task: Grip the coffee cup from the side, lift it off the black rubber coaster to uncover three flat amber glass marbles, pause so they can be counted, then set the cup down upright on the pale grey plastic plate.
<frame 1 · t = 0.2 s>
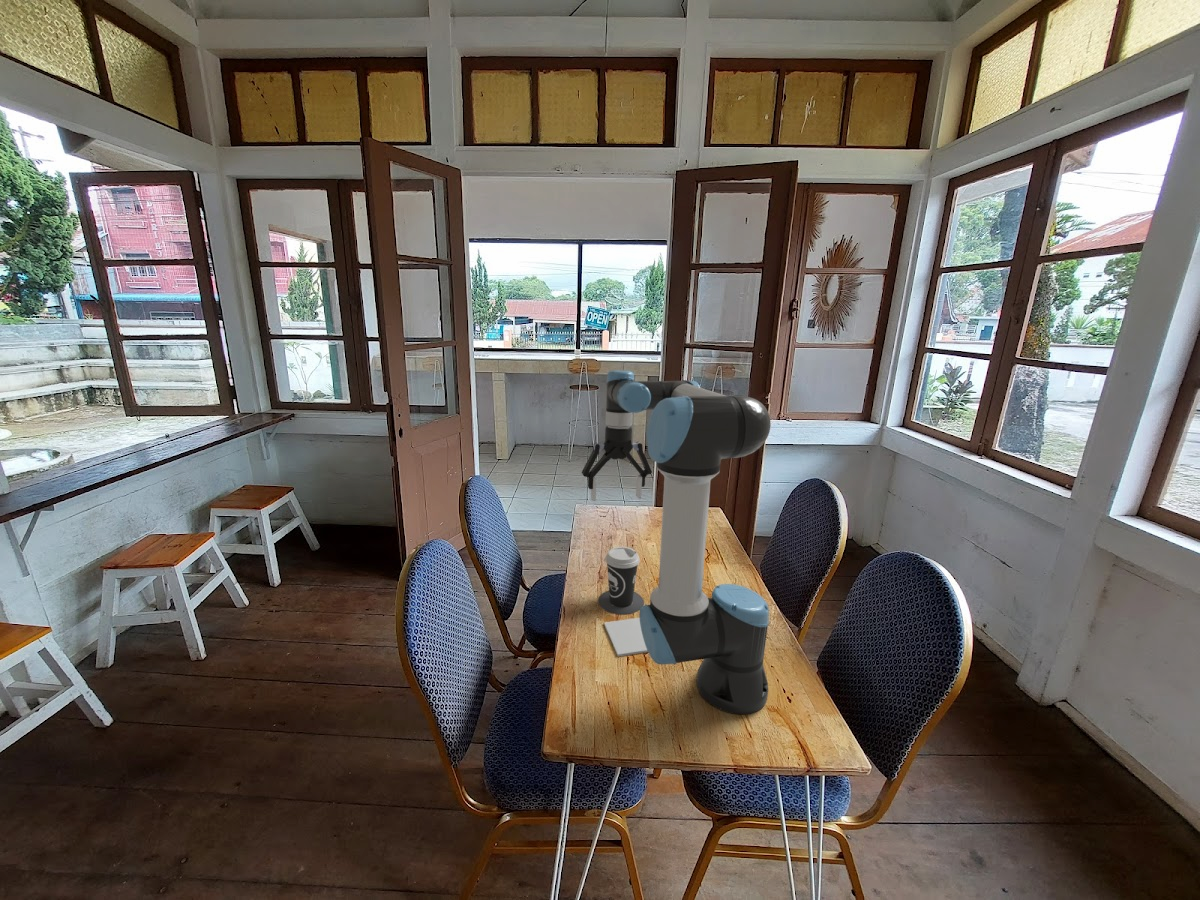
hand: (616, 498, 144), 27 cm above the table, tool pointing down, fingers open, 13 cm apart
coffee cup: (621, 601, 141), resting on coaster
plate: (635, 636, 126), on the table
coaster: (621, 601, 141), on the table
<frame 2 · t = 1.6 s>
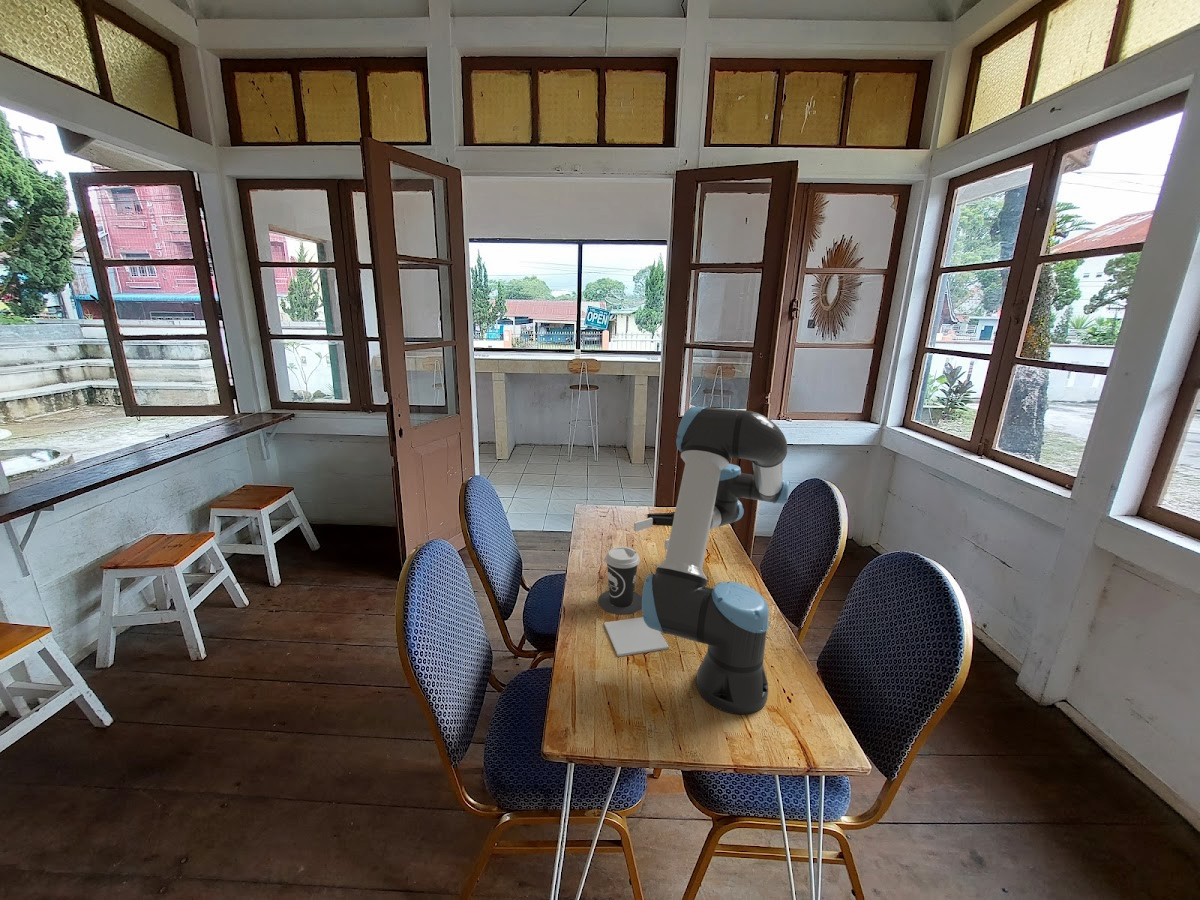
hand: (649, 535, 142), 18 cm above the table, tool horizontal, fingers open, 13 cm apart
nothing on the table moved.
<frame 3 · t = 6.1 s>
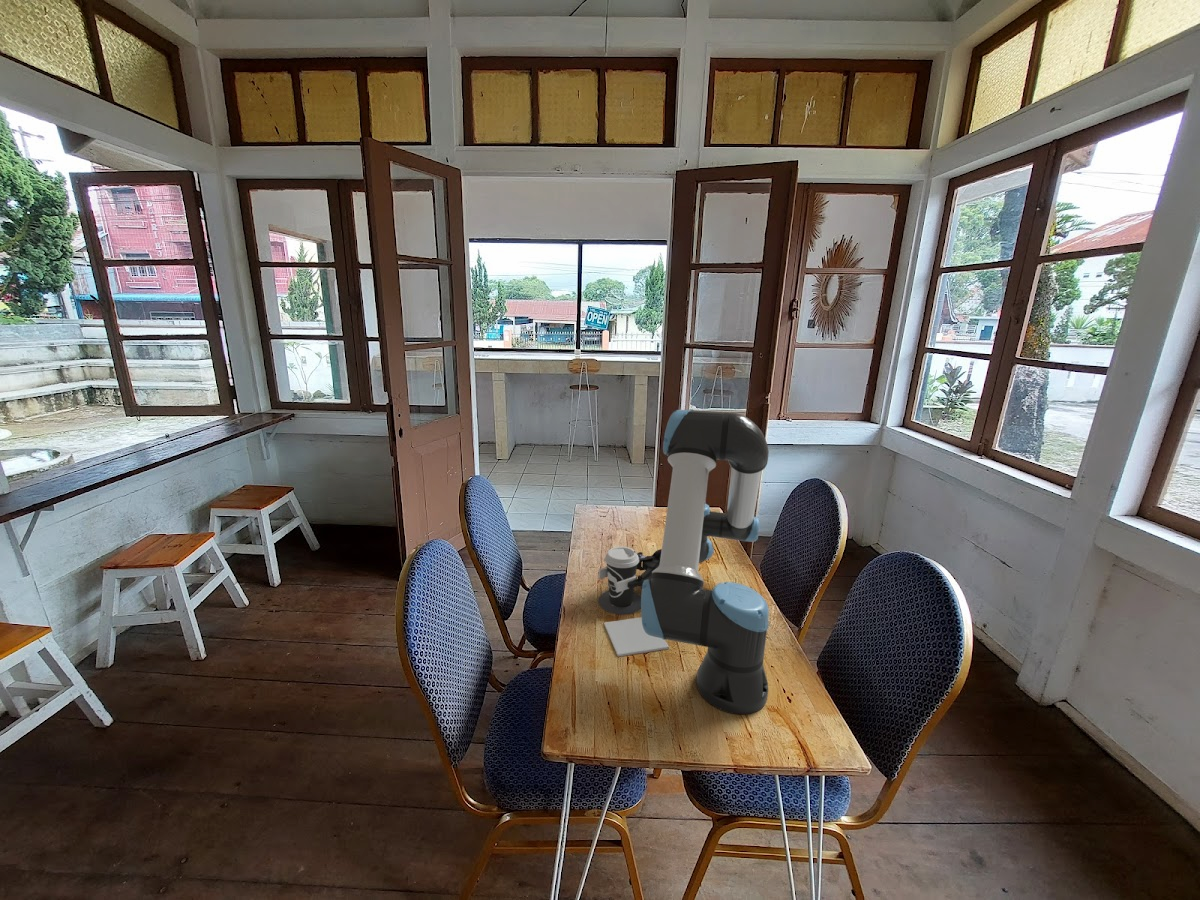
hand: (607, 580, 136), 8 cm above the table, tool horizontal, fingers closed on coffee cup, 8 cm apart
coffee cup: (621, 601, 141), resting on coaster, touching gripper
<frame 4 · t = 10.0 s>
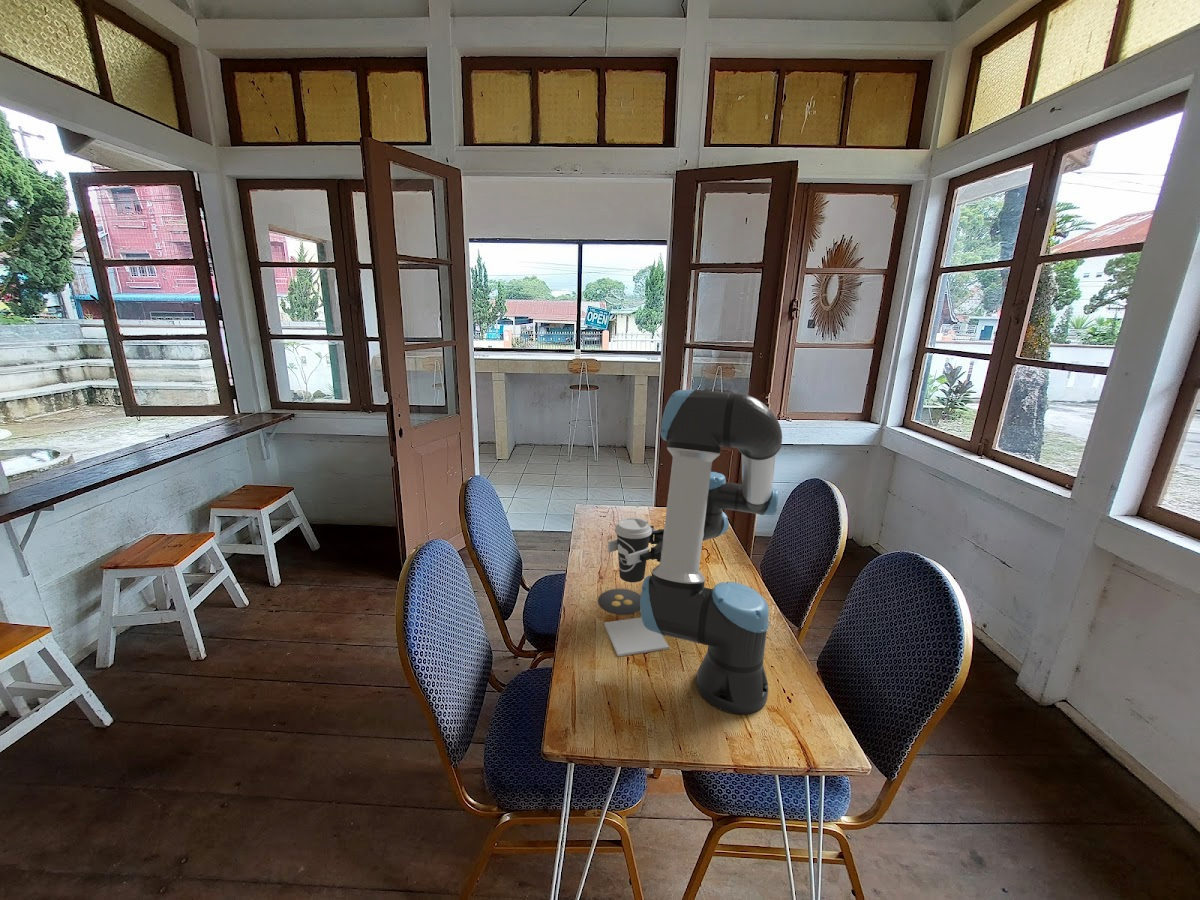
hand: (618, 553, 126), 20 cm above the table, tool horizontal, fingers closed on coffee cup, 8 cm apart
coffee cup: (631, 576, 131), point 12 cm above the table, touching gripper
when the fingers open (10 cm above the table, at t = 13.9 s): coffee cup drops 1 cm, resting on plate.
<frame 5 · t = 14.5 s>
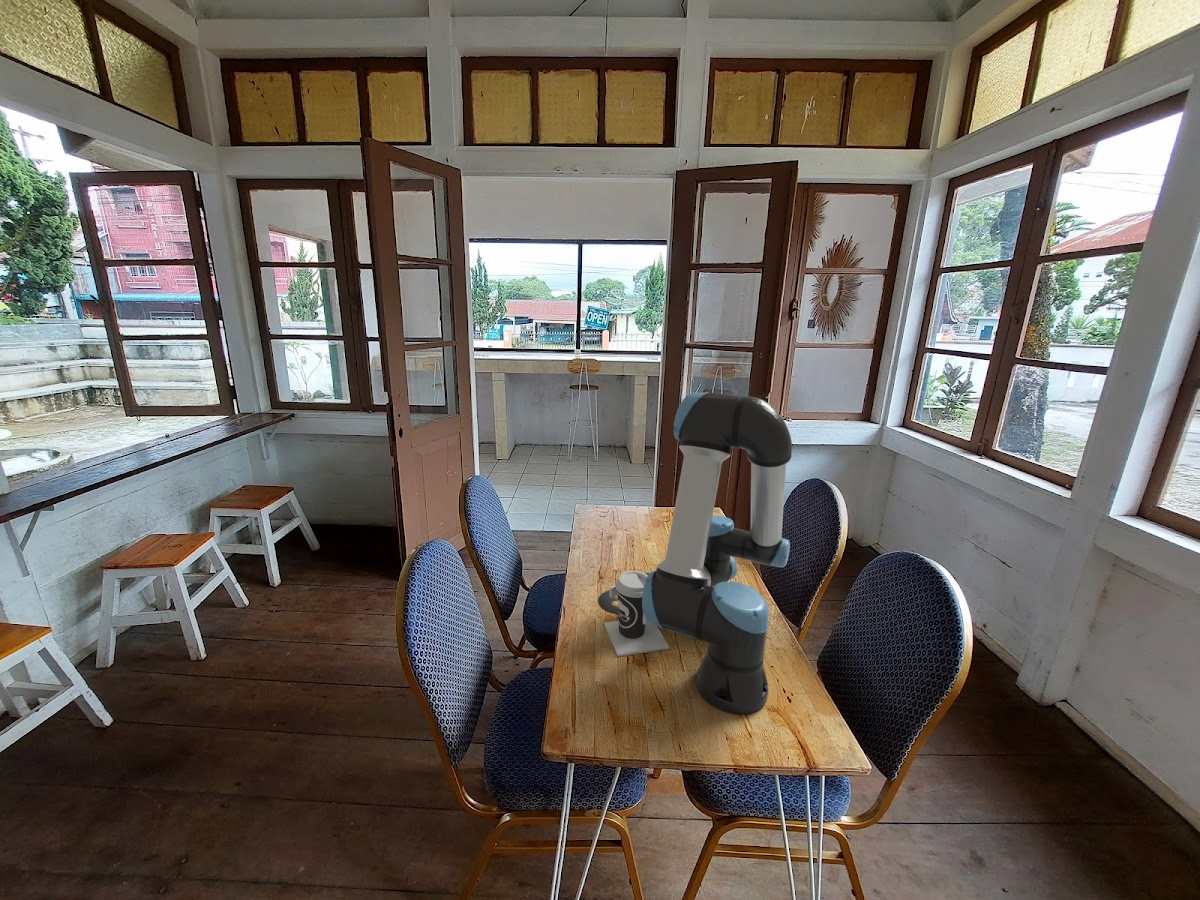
hand: (626, 605, 122), 10 cm above the table, tool horizontal, fingers open, 13 cm apart
coffee cup: (631, 631, 127), point 1 cm above the table, touching plate
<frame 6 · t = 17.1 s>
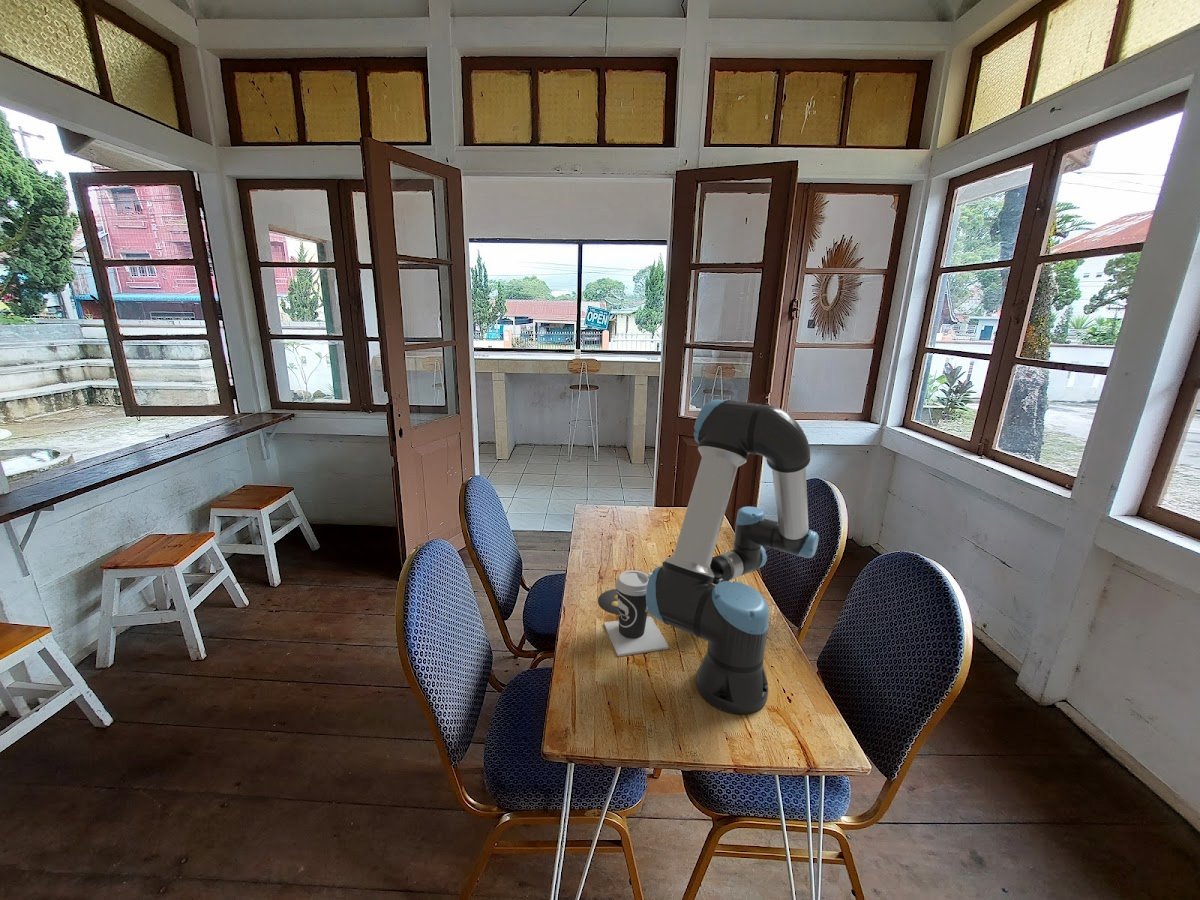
hand: (666, 589, 129), 10 cm above the table, tool horizontal, fingers open, 13 cm apart
nothing on the table moved.
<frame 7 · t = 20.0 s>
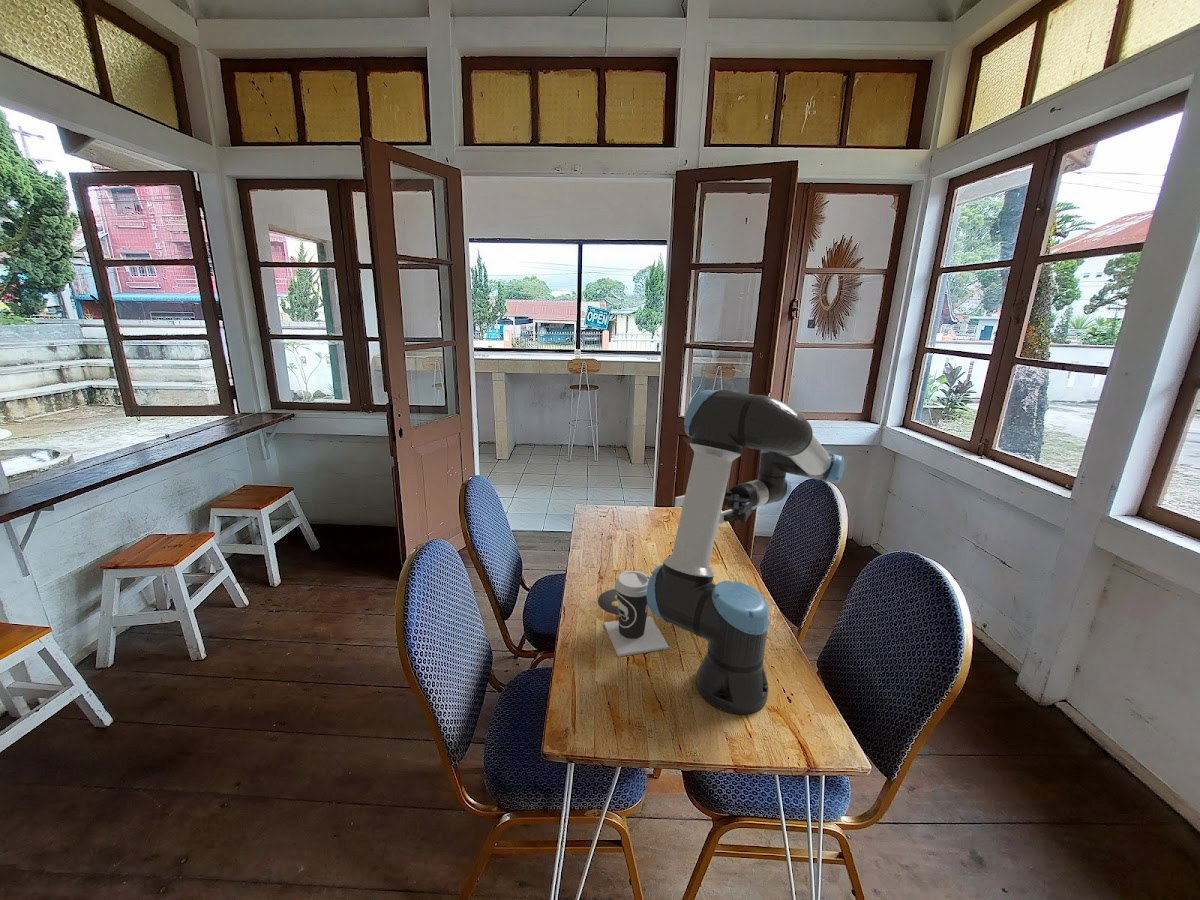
hand: (693, 510, 129), 30 cm above the table, tool horizontal, fingers open, 13 cm apart
nothing on the table moved.
at the end: coffee cup inside the target area on the plate (1.6 cm from its centre), point 0.5 cm above the plate's base; coffee cup tilted 1°; coffee cup moved 14.6 cm from its start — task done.
